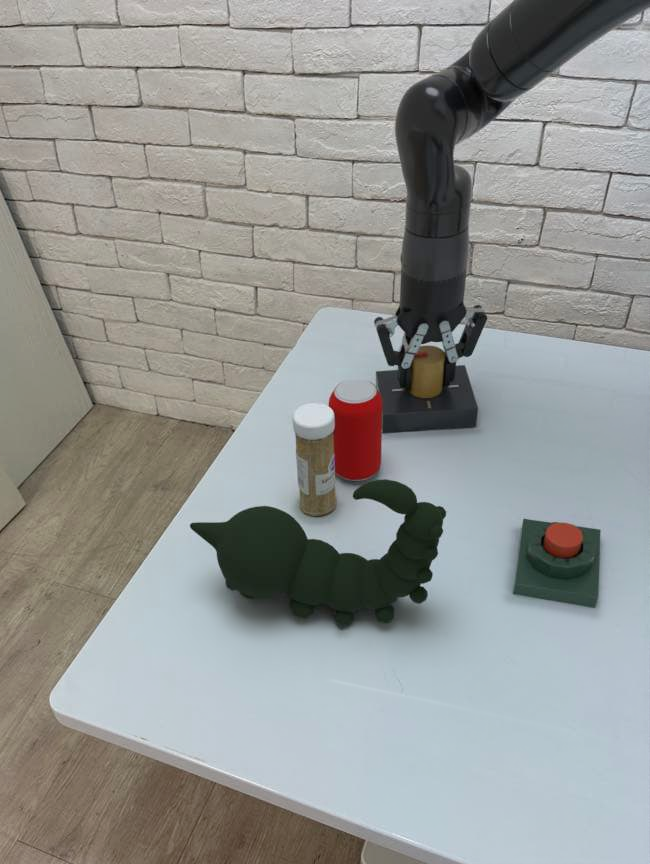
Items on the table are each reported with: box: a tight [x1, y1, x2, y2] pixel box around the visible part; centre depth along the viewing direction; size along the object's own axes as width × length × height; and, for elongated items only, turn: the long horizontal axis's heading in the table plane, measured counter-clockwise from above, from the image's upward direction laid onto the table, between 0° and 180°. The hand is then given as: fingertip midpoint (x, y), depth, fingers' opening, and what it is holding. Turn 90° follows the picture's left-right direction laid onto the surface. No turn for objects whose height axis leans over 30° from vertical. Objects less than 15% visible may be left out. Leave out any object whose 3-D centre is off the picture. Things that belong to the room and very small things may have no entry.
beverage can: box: [328, 378, 383, 482], centre depth 96 cm, size 6×6×12 cm
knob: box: [409, 344, 445, 398], centre depth 104 cm, size 4×4×6 cm
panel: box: [375, 364, 479, 434], centre depth 107 cm, size 12×10×3 cm
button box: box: [512, 518, 601, 608], centre depth 84 cm, size 10×8×4 cm
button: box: [543, 522, 583, 558], centre depth 83 cm, size 4×4×2 cm
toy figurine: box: [189, 479, 447, 628], centre depth 80 cm, size 9×19×25 cm
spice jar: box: [292, 402, 337, 517], centre depth 92 cm, size 5×5×14 cm
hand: (425, 385), depth 105 cm, fingers closed on knob, 4 cm apart
